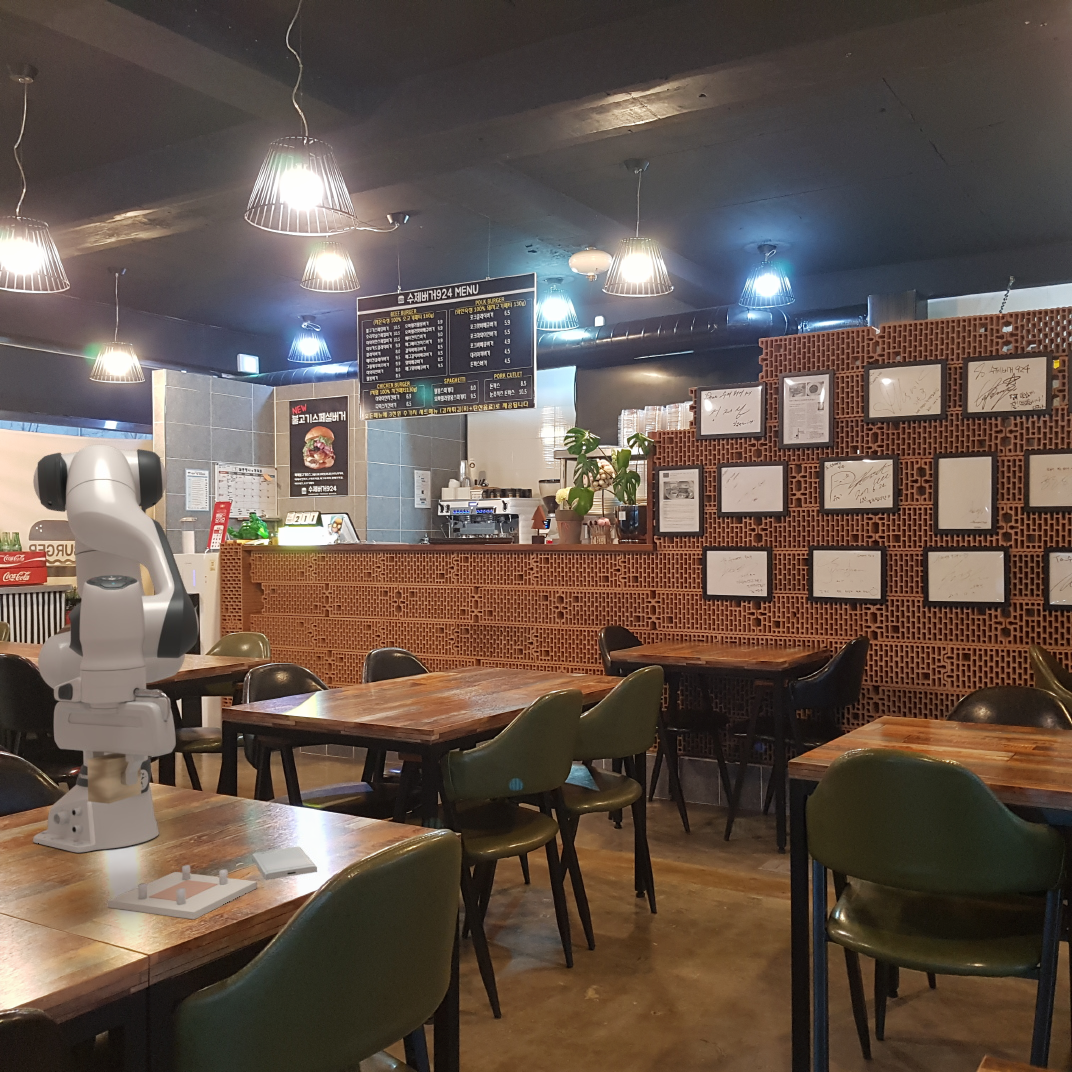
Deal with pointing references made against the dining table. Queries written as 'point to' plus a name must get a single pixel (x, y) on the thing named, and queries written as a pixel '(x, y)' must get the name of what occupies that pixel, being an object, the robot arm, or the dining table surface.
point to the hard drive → (283, 863)
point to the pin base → (183, 894)
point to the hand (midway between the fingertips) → (115, 782)
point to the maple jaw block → (110, 779)
